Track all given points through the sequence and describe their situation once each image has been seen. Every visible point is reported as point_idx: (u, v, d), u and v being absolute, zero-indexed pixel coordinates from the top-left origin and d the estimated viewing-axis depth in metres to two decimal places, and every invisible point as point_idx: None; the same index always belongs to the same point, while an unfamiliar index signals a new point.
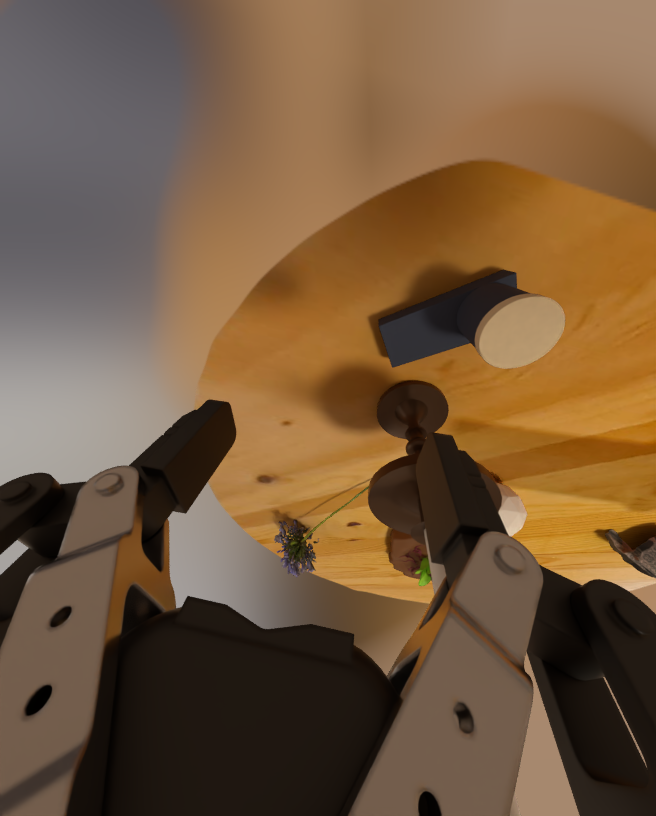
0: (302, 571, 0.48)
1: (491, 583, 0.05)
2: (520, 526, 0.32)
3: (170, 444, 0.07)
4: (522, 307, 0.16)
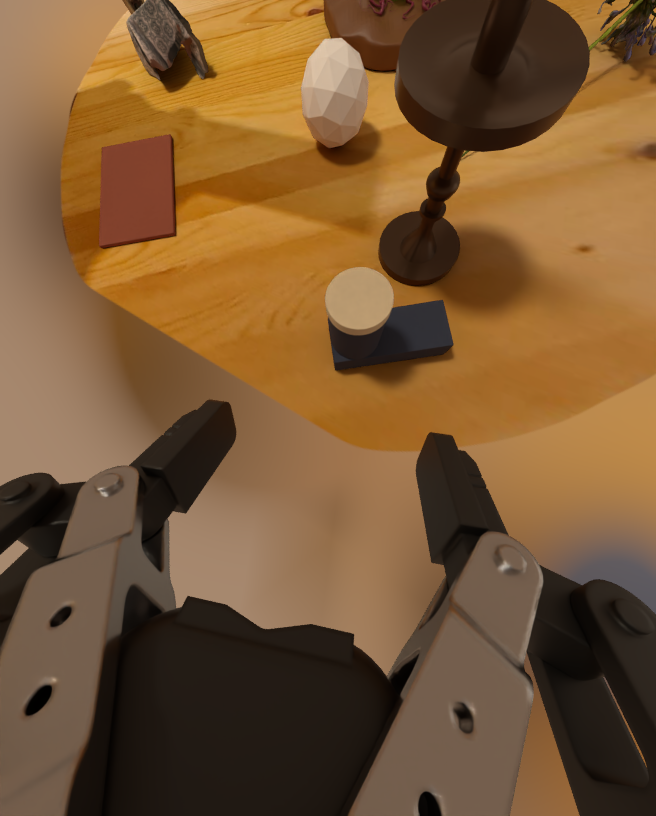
0: None
1: (491, 583, 0.05)
2: (313, 60, 0.25)
3: (170, 444, 0.07)
4: (361, 322, 0.18)
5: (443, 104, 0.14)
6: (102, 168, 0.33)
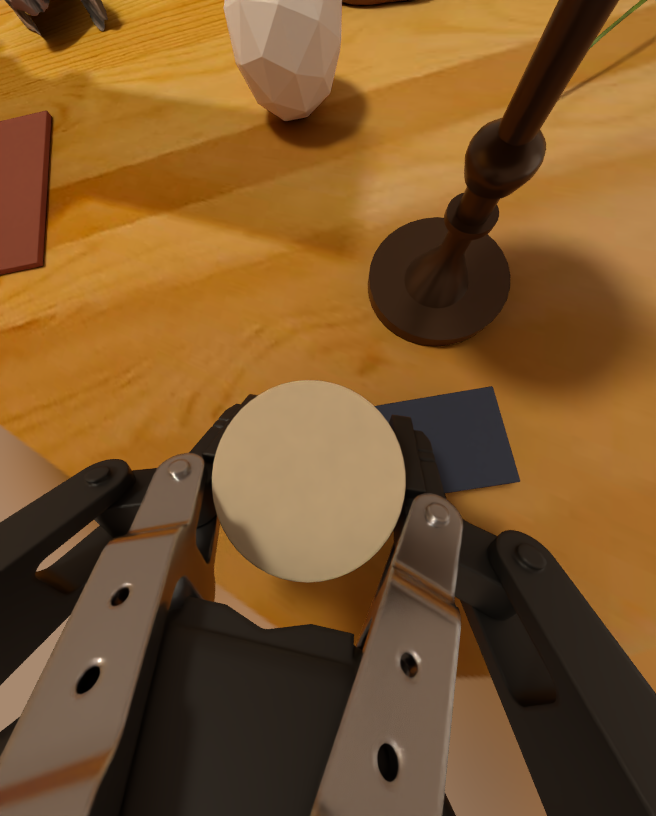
0: None
1: (416, 532, 0.05)
2: None
3: None
4: (310, 557, 0.06)
5: None
6: None
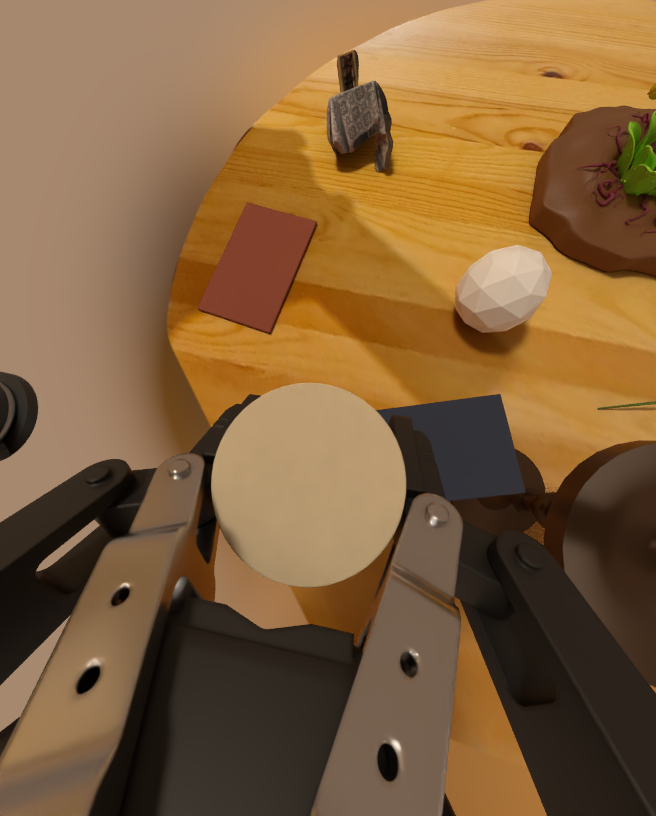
0: None
1: (415, 532, 0.05)
2: (495, 265, 0.21)
3: None
4: (306, 562, 0.06)
5: (594, 565, 0.11)
6: (237, 226, 0.31)
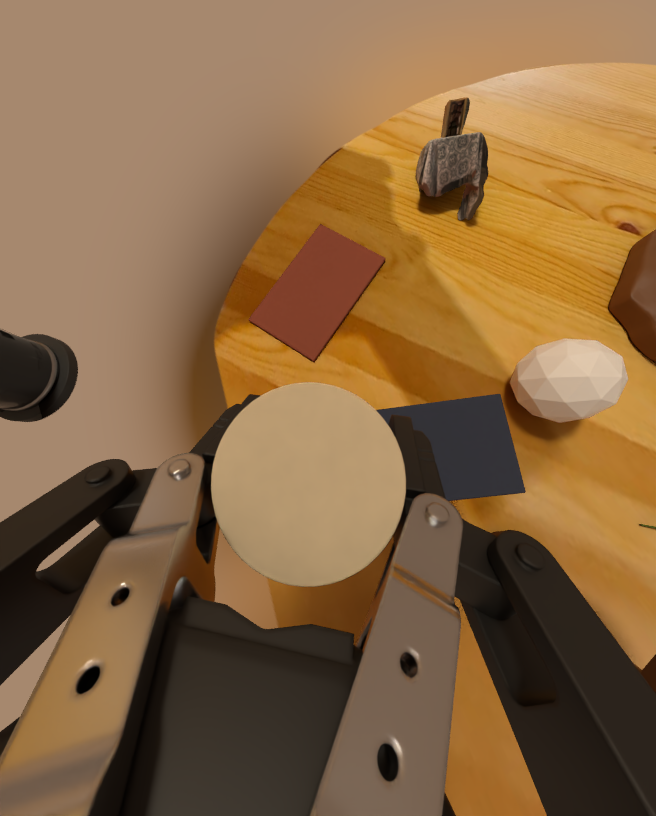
0: None
1: (415, 532, 0.05)
2: (569, 359, 0.20)
3: None
4: (306, 561, 0.06)
5: None
6: (305, 245, 0.31)
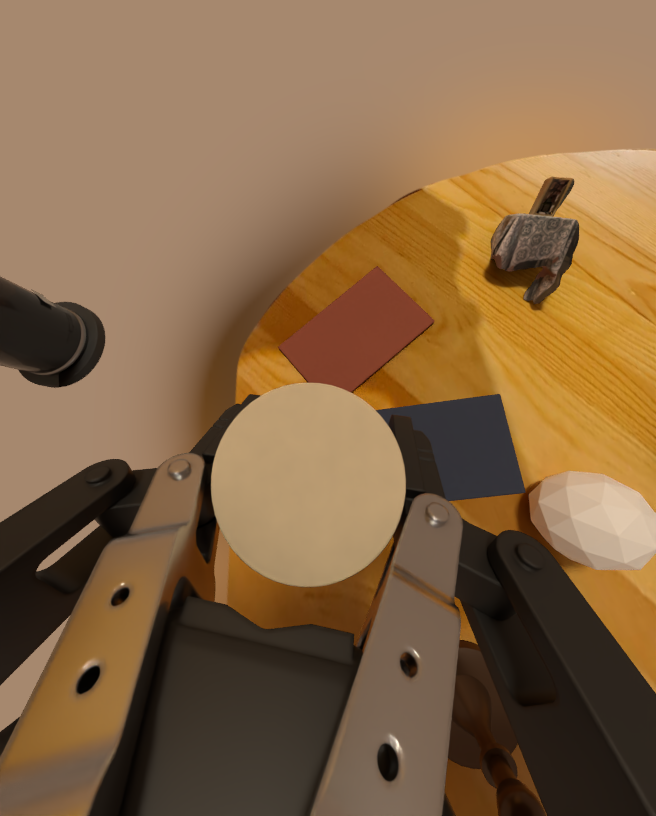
0: None
1: (415, 532, 0.05)
2: (602, 508, 0.18)
3: None
4: (306, 563, 0.06)
5: None
6: (356, 285, 0.30)
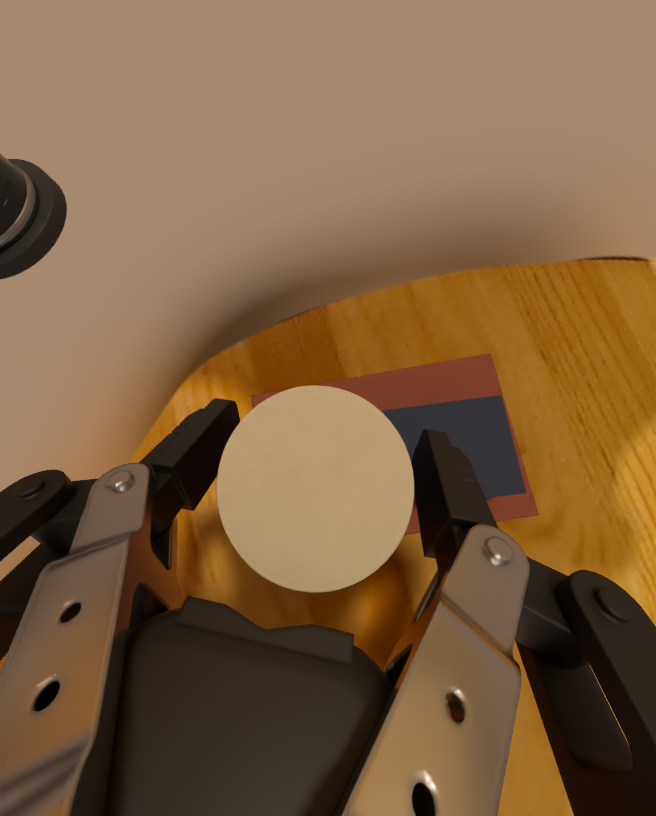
0: None
1: (479, 573, 0.05)
2: None
3: (179, 442, 0.07)
4: (314, 567, 0.06)
5: None
6: (434, 366, 0.16)
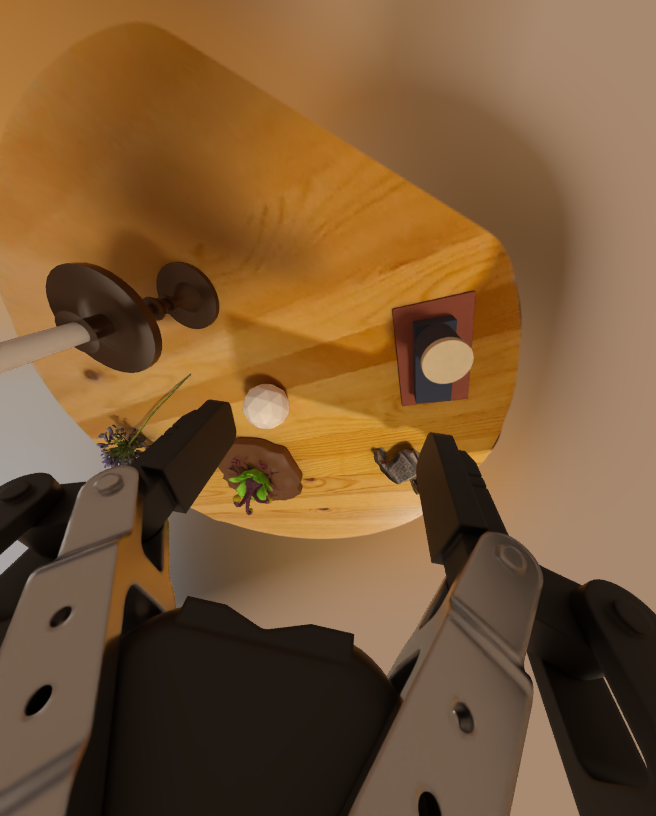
0: None
1: (491, 583, 0.05)
2: (270, 414, 0.38)
3: (170, 444, 0.07)
4: (427, 364, 0.27)
5: (119, 300, 0.23)
6: (467, 378, 0.36)
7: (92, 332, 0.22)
